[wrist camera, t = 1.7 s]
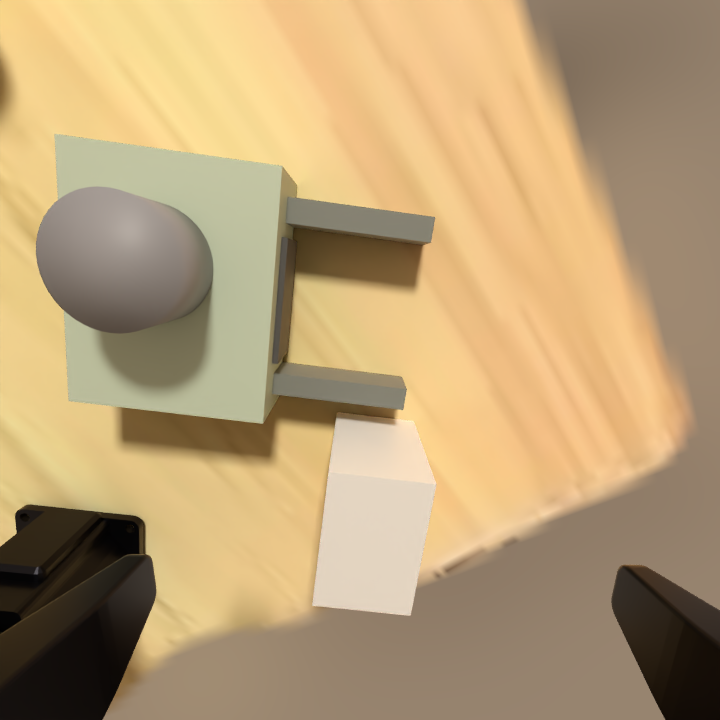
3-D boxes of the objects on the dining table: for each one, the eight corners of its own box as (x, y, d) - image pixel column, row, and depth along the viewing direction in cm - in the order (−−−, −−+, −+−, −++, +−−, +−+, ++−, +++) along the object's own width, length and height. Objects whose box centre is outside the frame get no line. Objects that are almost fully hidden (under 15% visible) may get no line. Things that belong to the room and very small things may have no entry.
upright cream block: (413, 420, 20) (436, 484, 14) (396, 520, 22) (410, 615, 16) (337, 411, 20) (328, 472, 14) (324, 512, 21) (312, 605, 16)
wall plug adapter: (396, 410, 20) (413, 474, 14) (119, 377, 19) (9, 428, 13) (429, 203, 18) (468, 171, 11) (115, 159, 17) (-22, 101, 11)
